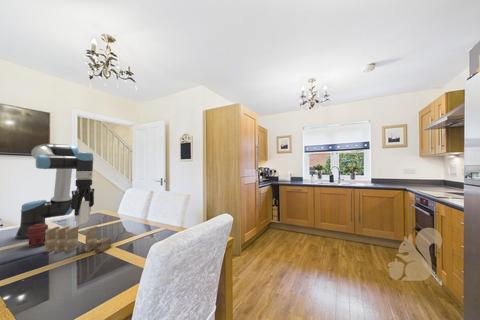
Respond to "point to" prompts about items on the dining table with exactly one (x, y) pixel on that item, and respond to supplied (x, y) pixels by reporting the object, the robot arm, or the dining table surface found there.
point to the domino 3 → (71, 239)
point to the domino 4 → (84, 212)
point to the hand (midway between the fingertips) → (82, 219)
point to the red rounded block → (36, 234)
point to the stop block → (102, 244)
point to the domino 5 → (91, 238)
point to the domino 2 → (60, 239)
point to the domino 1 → (50, 239)
